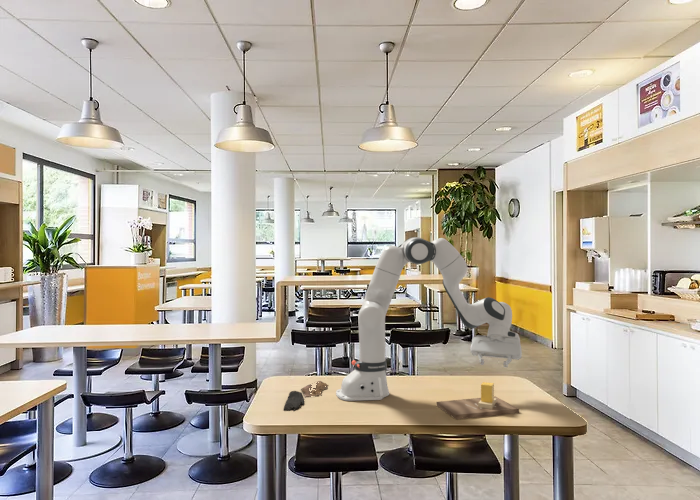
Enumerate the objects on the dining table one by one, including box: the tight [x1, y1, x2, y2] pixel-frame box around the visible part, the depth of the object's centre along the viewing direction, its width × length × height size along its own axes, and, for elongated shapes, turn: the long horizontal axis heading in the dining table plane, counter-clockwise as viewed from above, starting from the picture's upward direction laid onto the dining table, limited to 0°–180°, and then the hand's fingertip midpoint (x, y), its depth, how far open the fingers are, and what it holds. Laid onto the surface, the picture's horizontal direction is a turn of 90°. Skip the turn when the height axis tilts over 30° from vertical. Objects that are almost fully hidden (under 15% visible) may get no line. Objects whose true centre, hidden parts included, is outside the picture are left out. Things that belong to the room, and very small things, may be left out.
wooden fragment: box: [300, 380, 329, 398], centre depth 216 cm, size 26×11×1 cm, turn 168°
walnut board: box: [435, 395, 520, 420], centre depth 188 cm, size 26×16×2 cm, turn 106°
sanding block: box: [478, 381, 498, 409], centre depth 188 cm, size 9×5×8 cm, turn 153°
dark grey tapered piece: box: [283, 390, 306, 412], centre depth 197 cm, size 22×7×3 cm, turn 0°
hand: (493, 365), depth 198 cm, fingers open, 8 cm apart
